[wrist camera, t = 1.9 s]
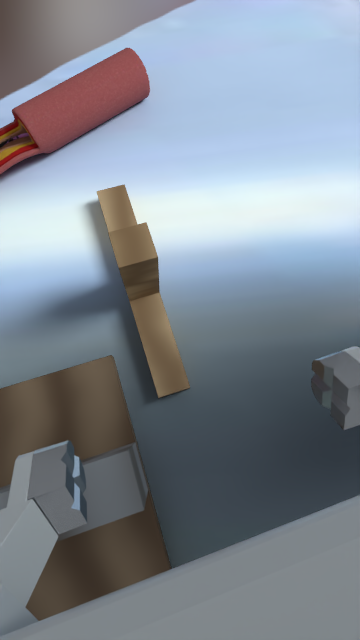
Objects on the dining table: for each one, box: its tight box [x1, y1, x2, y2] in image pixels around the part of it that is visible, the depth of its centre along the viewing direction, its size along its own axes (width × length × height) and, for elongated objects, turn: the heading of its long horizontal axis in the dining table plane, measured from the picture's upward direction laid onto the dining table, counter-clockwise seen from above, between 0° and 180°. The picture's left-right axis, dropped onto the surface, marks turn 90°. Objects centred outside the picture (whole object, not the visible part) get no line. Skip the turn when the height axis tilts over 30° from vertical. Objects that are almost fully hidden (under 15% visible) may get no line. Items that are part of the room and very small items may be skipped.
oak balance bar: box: [97, 185, 190, 398], centre depth 30 cm, size 3×22×10 cm, turn 18°
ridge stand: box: [0, 355, 172, 621], centre depth 27 cm, size 12×20×8 cm, turn 18°
